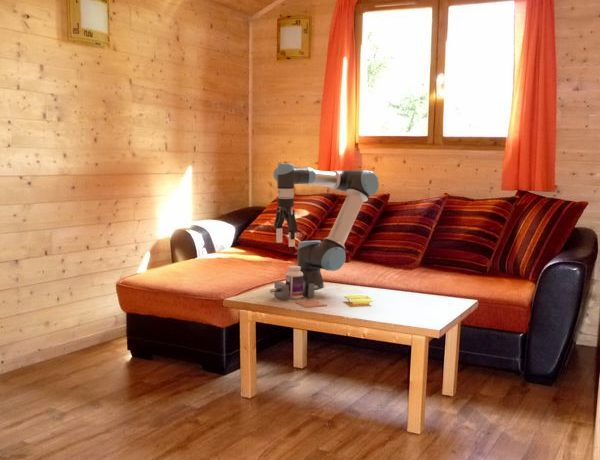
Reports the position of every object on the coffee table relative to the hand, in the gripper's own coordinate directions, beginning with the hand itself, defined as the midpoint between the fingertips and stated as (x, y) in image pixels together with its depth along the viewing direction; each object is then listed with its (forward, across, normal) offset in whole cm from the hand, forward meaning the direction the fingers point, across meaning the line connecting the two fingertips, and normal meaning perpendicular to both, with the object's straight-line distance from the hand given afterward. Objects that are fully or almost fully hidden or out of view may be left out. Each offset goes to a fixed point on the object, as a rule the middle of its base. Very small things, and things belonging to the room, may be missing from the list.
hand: (285, 244), depth 290 cm
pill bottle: (+25, +1, +4) cm, 25 cm away
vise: (+25, +1, +4) cm, 25 cm away
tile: (+25, +16, +5) cm, 30 cm away
